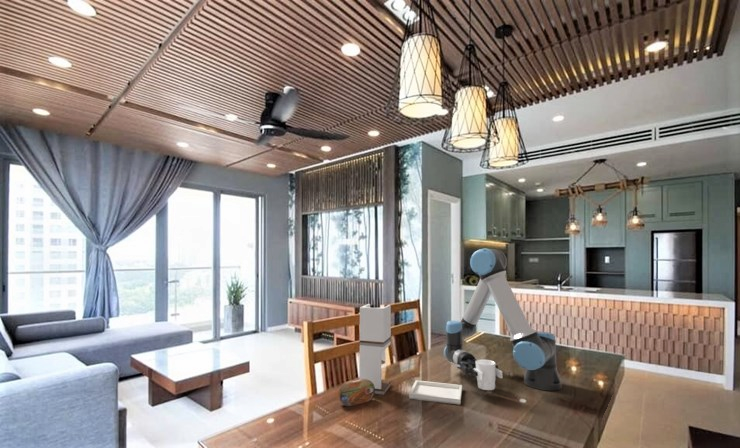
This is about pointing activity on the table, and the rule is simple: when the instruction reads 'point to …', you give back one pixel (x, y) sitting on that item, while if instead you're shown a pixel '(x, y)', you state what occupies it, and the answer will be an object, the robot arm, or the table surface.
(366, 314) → the white tall box
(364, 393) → the tin
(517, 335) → the robot arm
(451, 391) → the tray
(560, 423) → the table surface
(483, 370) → the white cup
